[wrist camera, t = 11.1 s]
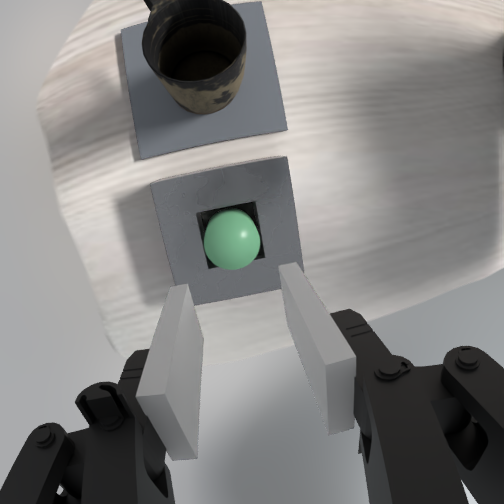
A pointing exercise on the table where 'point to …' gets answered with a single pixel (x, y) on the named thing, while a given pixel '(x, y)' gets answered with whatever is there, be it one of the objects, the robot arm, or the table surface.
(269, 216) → the button box
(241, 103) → the mat
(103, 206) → the table surface
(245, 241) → the button
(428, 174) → the table surface
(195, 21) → the mug
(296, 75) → the table surface
